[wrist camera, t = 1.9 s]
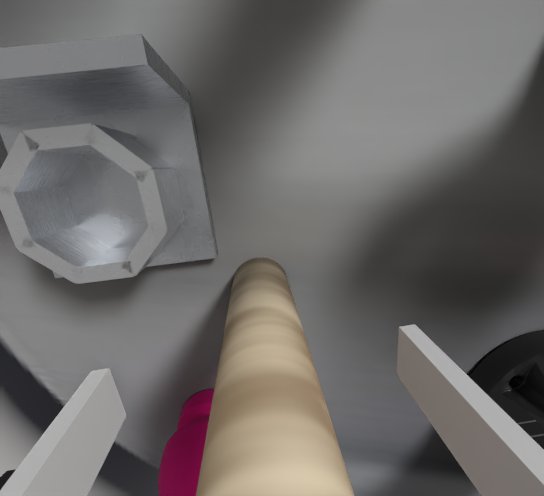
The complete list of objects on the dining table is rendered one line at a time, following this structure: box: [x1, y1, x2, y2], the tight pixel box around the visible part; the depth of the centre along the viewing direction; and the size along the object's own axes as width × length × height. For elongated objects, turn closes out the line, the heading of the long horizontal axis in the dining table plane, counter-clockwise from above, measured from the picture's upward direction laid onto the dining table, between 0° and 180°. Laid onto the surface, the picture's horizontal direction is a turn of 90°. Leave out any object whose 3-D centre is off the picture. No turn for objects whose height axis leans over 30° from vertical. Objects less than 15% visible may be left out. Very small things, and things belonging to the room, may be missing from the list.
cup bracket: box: [0, 34, 218, 284], centre depth 16 cm, size 12×12×8 cm
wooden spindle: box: [196, 258, 354, 496], centre depth 15 cm, size 4×4×16 cm
